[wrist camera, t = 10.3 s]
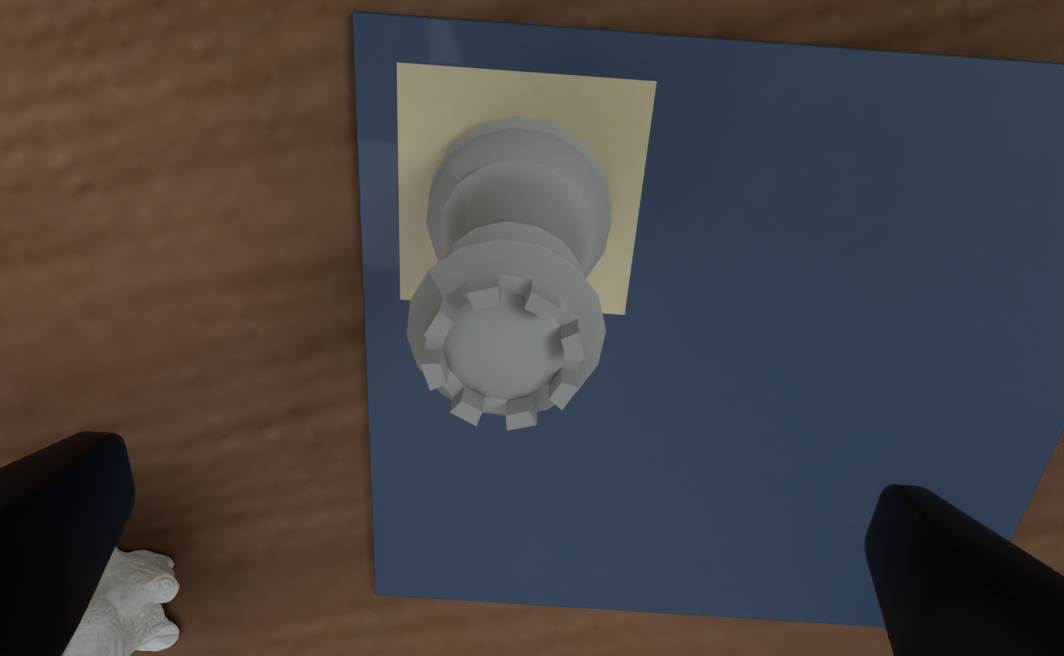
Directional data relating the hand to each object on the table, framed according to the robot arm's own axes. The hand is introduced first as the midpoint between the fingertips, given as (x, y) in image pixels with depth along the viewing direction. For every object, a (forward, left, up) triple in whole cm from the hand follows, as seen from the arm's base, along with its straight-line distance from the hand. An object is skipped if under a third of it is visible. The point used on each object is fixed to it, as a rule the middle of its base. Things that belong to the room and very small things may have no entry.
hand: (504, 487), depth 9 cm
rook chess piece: (0, 0, -11) cm, 11 cm away
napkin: (-5, -6, -11) cm, 13 cm away
